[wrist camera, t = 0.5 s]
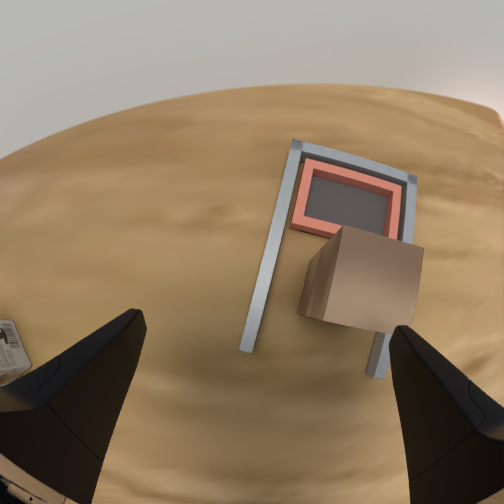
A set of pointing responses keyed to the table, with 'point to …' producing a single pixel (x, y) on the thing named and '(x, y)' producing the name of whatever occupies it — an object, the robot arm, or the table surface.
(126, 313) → the robot arm
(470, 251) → the table surface
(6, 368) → the coffee box
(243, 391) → the table surface
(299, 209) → the rectangular frame
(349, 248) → the walnut block
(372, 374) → the u-shaped frame
